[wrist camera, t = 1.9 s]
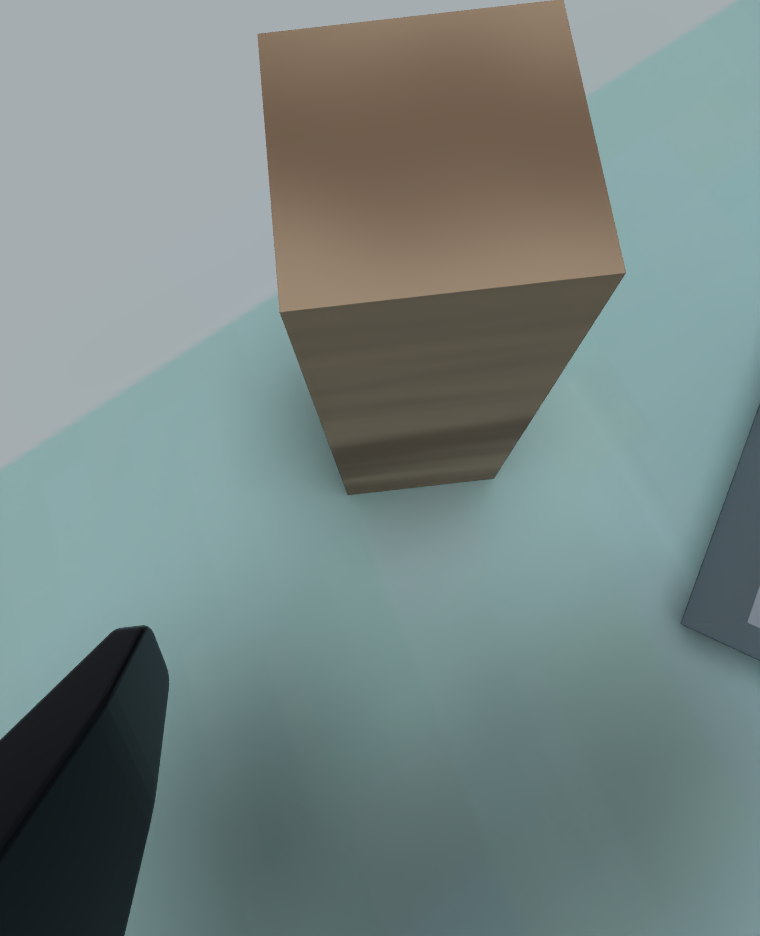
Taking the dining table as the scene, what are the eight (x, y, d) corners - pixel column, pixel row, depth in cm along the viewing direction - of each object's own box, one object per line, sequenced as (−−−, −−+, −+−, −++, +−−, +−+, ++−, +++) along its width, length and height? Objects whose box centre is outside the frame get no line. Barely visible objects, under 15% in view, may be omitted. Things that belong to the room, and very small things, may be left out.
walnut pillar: (493, 478, 22) (625, 272, 9) (347, 495, 22) (280, 312, 9) (472, 343, 23) (563, -1, 10) (334, 359, 23) (257, 33, 10)
